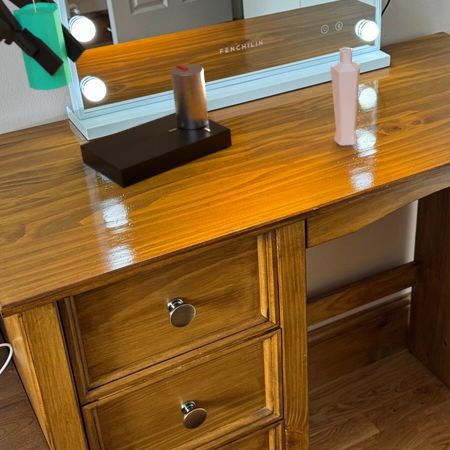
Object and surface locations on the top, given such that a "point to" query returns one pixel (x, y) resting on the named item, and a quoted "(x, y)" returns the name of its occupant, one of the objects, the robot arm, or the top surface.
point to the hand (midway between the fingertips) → (68, 62)
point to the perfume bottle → (345, 97)
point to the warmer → (152, 149)
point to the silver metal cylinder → (189, 96)
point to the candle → (52, 36)
